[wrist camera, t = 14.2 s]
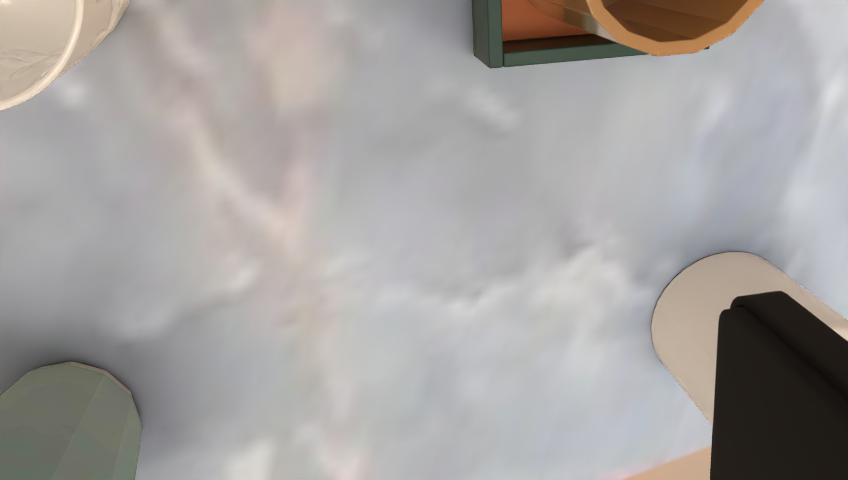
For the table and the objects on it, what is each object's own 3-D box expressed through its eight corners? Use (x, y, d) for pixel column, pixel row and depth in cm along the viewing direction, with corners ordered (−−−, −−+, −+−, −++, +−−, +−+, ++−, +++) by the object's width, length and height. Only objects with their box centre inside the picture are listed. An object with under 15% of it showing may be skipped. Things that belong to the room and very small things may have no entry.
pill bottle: (749, 394, 44) (877, 533, 34) (627, 363, 43) (724, 499, 32) (814, 272, 42) (973, 381, 32) (688, 234, 40) (813, 337, 30)
